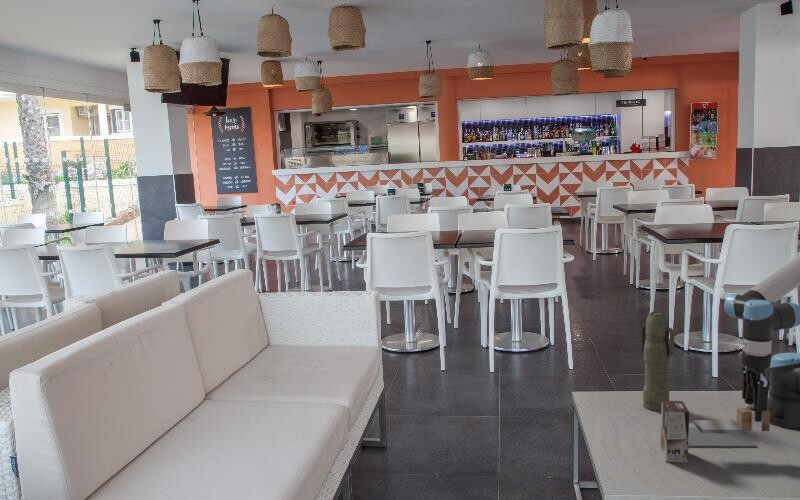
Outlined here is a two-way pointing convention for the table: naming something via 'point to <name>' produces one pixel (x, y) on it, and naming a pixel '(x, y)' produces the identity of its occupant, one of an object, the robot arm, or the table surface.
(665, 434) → the coffee box
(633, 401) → the table surface
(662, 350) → the thermos
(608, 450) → the table surface
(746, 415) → the wood block metal plate
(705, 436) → the mat
